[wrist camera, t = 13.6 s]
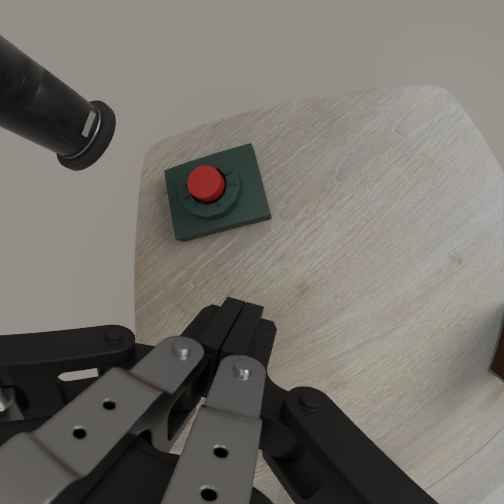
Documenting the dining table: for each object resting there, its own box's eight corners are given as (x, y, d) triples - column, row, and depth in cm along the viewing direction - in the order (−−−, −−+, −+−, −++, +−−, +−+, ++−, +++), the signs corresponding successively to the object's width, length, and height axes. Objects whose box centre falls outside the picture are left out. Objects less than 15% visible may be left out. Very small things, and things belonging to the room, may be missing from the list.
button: (196, 206, 27) (190, 202, 25) (191, 176, 27) (184, 171, 25) (227, 197, 26) (223, 192, 25) (221, 167, 27) (216, 160, 25)
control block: (183, 241, 31) (168, 238, 27) (171, 176, 31) (156, 165, 27) (271, 218, 29) (268, 211, 26) (254, 151, 30) (248, 135, 26)
